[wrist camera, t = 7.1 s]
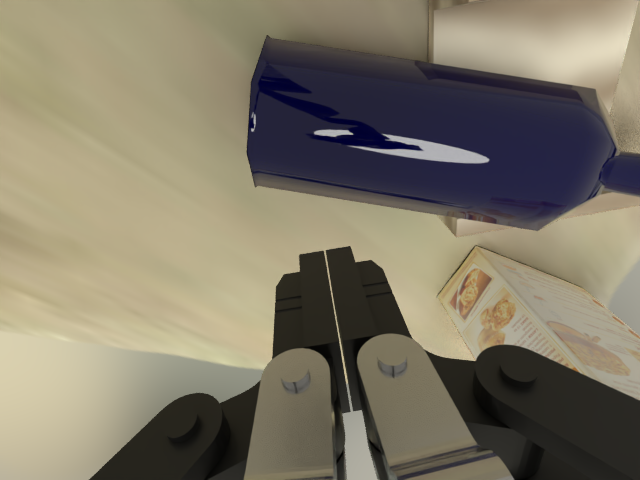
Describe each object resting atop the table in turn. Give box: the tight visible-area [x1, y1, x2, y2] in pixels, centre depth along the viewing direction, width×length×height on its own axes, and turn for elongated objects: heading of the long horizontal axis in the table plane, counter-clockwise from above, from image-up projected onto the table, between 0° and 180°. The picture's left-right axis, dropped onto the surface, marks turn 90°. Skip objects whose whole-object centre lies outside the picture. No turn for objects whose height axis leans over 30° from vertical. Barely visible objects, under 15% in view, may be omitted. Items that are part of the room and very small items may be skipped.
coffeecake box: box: [437, 246, 640, 400], centre depth 28 cm, size 15×7×20 cm, turn 66°
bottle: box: [247, 35, 640, 231], centre depth 21 cm, size 9×9×30 cm
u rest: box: [428, 0, 640, 237], centre depth 24 cm, size 16×14×6 cm
